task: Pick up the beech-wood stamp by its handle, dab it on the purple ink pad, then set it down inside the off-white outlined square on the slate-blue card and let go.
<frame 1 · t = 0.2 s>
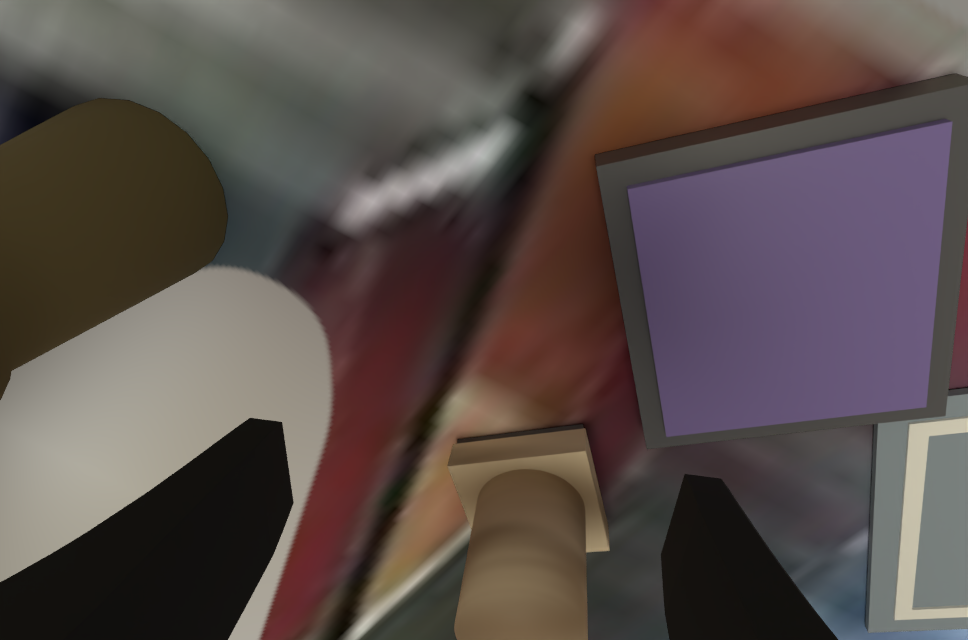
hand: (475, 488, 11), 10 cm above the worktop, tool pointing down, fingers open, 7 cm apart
ink pad: (771, 281, 19), on the worktop
stamp: (533, 478, 24), on the worktop
cork: (141, 193, 20), on the worktop
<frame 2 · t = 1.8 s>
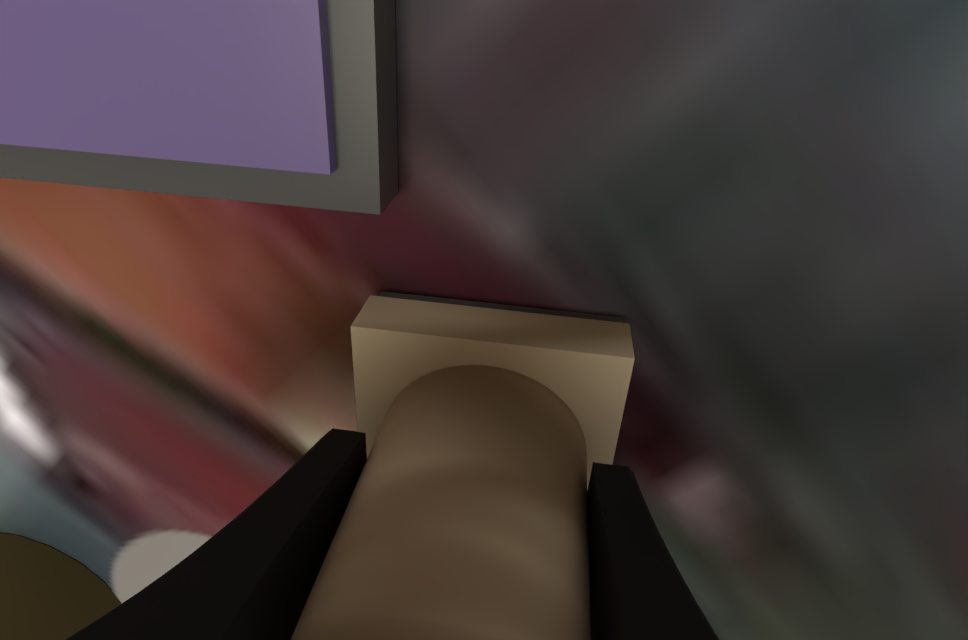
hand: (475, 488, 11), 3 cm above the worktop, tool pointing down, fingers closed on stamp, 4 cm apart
stamp: (492, 400, 13), on the worktop, touching gripper
cork: (40, 592, 20), on the worktop
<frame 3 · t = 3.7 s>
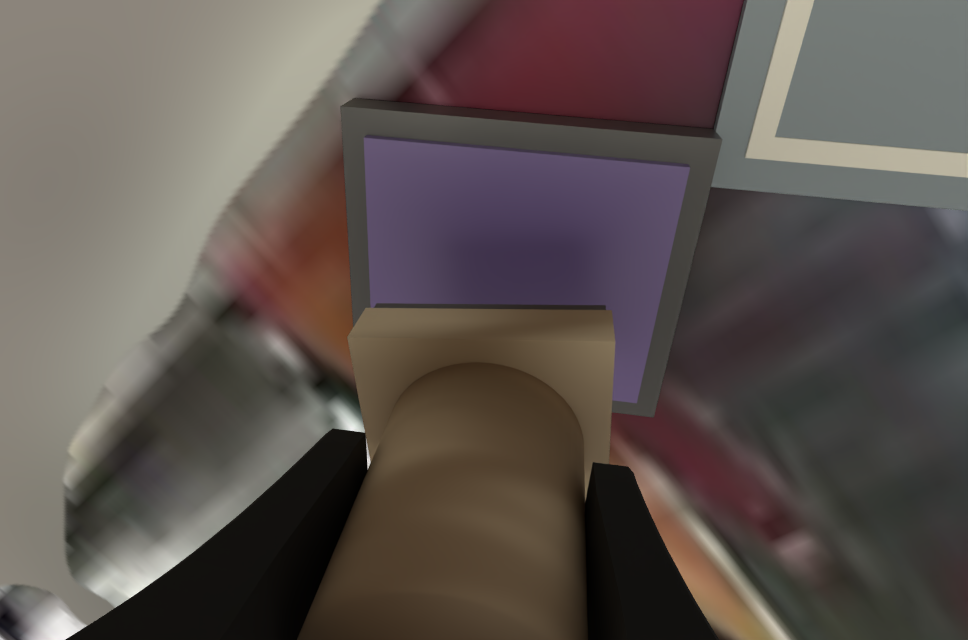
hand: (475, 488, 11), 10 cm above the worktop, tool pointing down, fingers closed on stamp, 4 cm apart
ink pad: (516, 260, 19), on the worktop
stamp: (493, 398, 14), point 7 cm above the worktop, touching gripper
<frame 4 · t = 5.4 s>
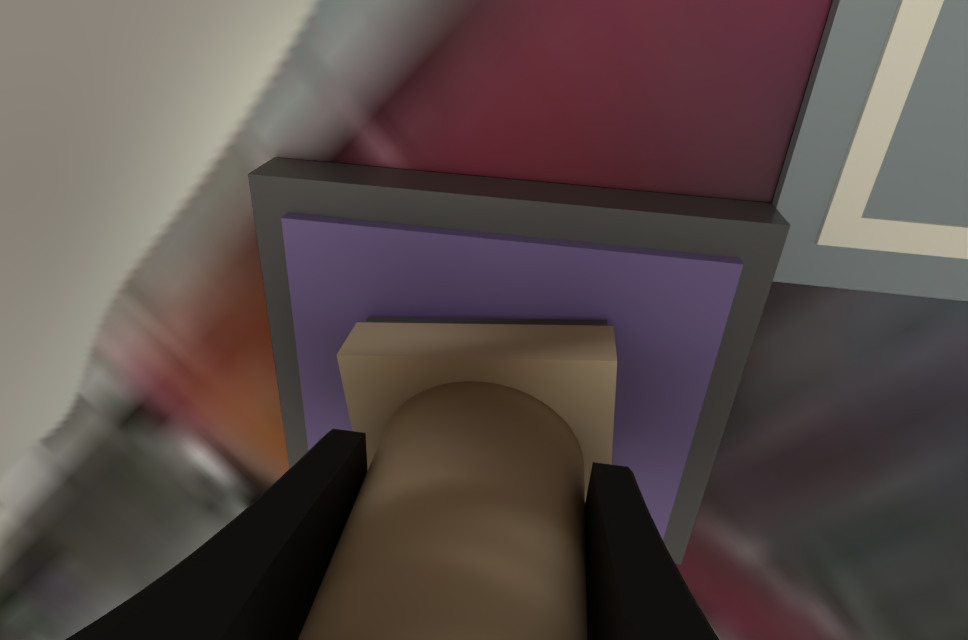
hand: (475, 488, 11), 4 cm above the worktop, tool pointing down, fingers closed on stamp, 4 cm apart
ink pad: (499, 365, 15), on the worktop
stamp: (490, 414, 13), point 1 cm above the worktop, touching gripper, ink pad
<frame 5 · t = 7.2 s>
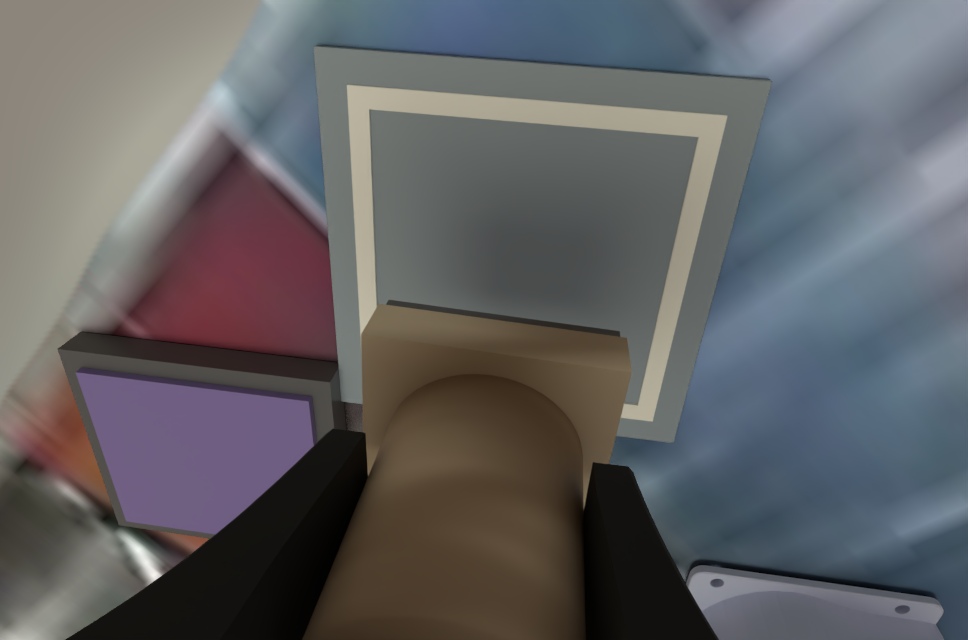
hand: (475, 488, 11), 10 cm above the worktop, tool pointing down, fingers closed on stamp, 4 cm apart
ink pad: (227, 441, 25), on the worktop
target card: (517, 266, 19), on the worktop
stamp: (492, 406, 14), point 7 cm above the worktop, touching gripper
when the fingers open (4 cm above the worktop, at t = 8.9 s): stamp stays where it is, resting on target card.
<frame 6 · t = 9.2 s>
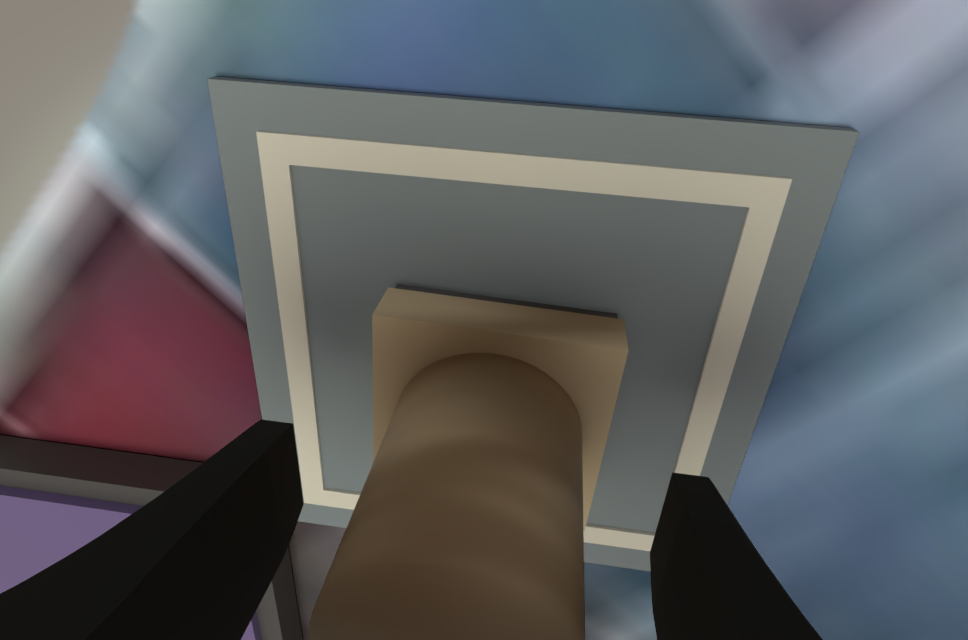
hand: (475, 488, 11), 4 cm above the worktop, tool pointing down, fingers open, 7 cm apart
ink pad: (144, 554, 20), on the worktop
target card: (498, 365, 15), on the worktop
stamp: (495, 387, 15), resting on target card
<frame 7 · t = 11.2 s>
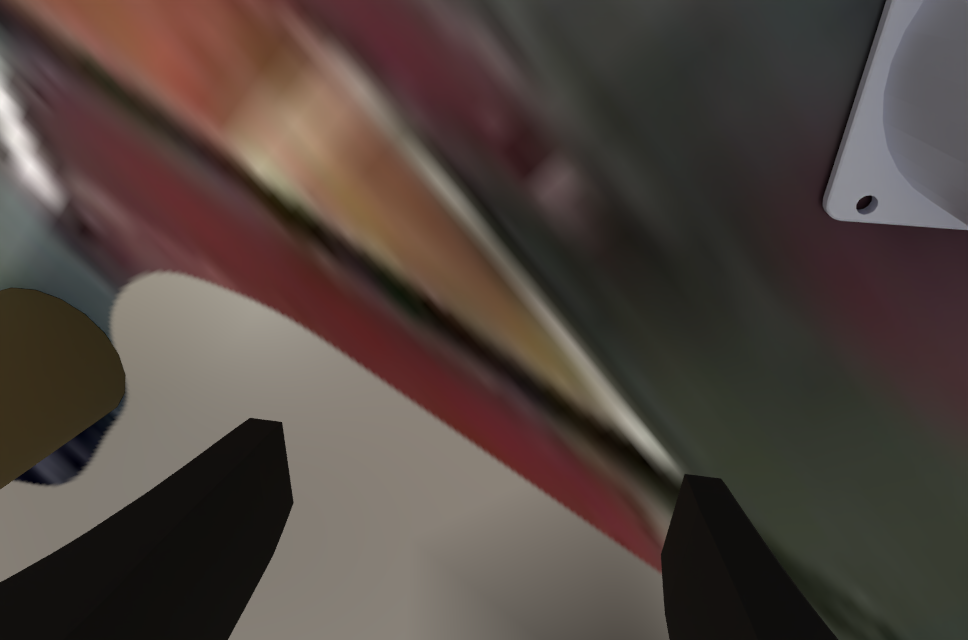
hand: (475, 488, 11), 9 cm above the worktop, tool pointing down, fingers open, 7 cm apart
cork: (54, 354, 24), on the worktop
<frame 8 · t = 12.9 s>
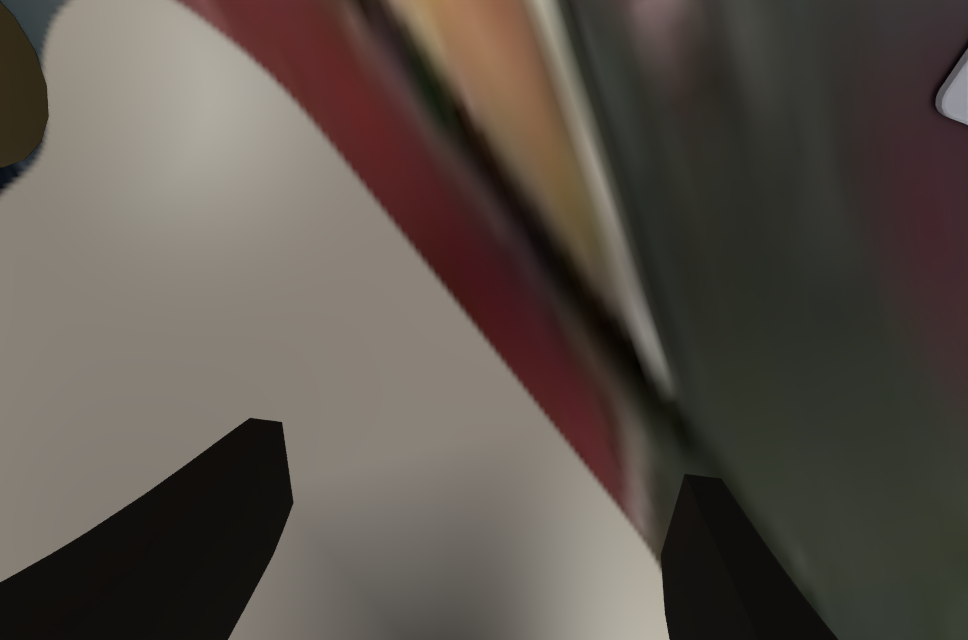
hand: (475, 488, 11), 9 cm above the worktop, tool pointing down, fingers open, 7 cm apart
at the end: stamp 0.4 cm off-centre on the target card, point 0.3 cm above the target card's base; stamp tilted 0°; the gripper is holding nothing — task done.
